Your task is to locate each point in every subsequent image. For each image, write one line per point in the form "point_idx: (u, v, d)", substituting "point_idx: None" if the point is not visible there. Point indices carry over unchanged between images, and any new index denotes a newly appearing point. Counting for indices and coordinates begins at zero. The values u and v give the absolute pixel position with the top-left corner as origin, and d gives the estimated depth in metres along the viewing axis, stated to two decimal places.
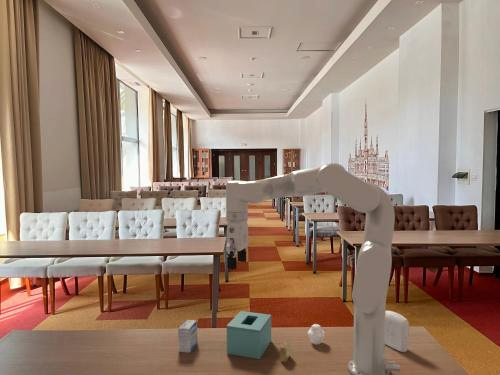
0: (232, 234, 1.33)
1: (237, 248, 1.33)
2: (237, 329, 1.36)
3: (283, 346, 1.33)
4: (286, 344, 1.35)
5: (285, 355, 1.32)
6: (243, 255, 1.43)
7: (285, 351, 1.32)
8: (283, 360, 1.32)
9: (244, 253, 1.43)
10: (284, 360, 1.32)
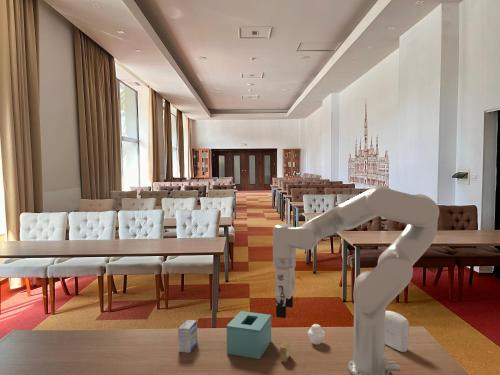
0: (281, 282, 1.28)
1: (287, 296, 1.28)
2: (237, 329, 1.36)
3: (283, 346, 1.33)
4: (286, 344, 1.35)
5: (285, 355, 1.32)
6: (290, 300, 1.37)
7: (285, 351, 1.32)
8: (283, 360, 1.32)
9: (291, 298, 1.37)
10: (284, 360, 1.32)
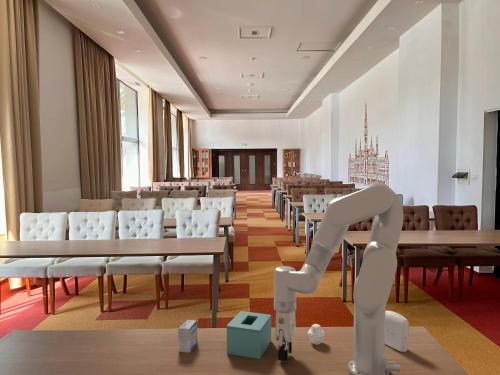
0: (282, 325, 1.29)
1: (287, 340, 1.29)
2: (237, 329, 1.36)
3: None
4: None
5: None
6: None
7: None
8: None
9: None
10: None
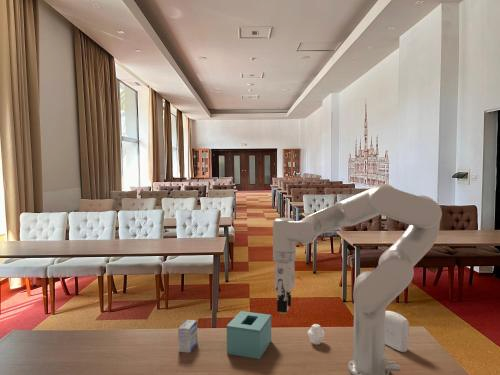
0: (281, 275, 1.28)
1: (286, 290, 1.28)
2: (237, 329, 1.36)
3: None
4: None
5: None
6: None
7: None
8: None
9: (289, 297, 1.35)
10: None
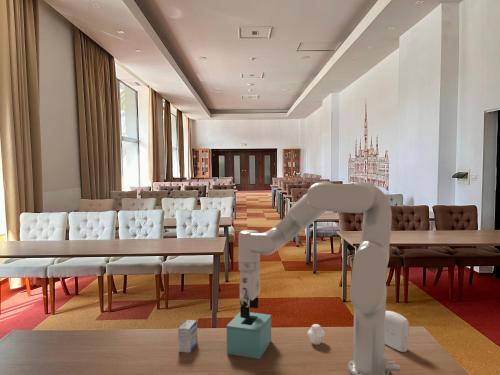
0: (245, 284, 1.37)
1: (250, 298, 1.36)
2: (237, 329, 1.36)
3: None
4: None
5: None
6: (255, 302, 1.46)
7: None
8: None
9: (256, 300, 1.46)
10: None
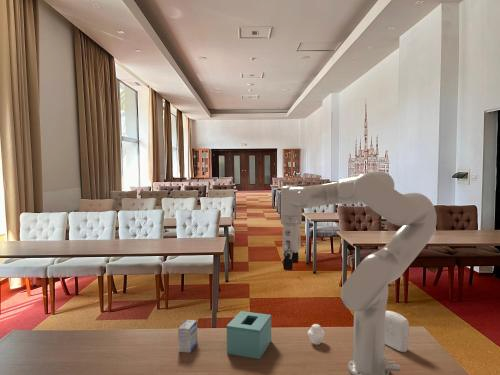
0: (288, 237, 1.40)
1: (293, 250, 1.39)
2: (237, 329, 1.36)
3: None
4: None
5: None
6: (295, 257, 1.49)
7: None
8: None
9: (296, 255, 1.49)
10: None
